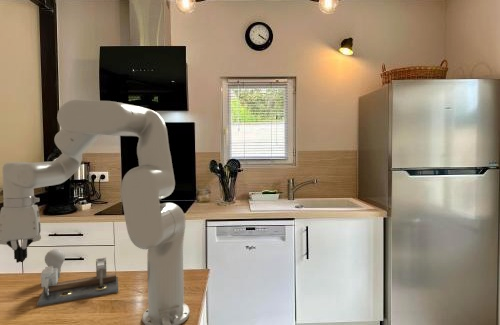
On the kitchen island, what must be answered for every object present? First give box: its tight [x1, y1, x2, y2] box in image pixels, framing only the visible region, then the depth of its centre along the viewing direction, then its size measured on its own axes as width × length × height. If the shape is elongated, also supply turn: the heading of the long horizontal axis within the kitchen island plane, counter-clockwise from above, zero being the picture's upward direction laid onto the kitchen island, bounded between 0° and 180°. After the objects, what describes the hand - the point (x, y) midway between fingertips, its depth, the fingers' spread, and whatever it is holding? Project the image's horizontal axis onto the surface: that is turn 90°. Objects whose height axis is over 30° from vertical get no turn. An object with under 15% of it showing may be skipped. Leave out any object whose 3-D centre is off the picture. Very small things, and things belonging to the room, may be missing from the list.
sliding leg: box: [40, 266, 59, 296], centre depth 98 cm, size 7×4×7 cm, turn 24°
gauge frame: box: [43, 257, 117, 292], centre depth 102 cm, size 7×21×8 cm, turn 114°
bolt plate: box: [37, 276, 119, 307], centre depth 101 cm, size 10×22×1 cm, turn 114°
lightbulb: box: [44, 248, 66, 280], centre depth 110 cm, size 6×6×11 cm
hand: (20, 260), depth 97 cm, fingers closed
